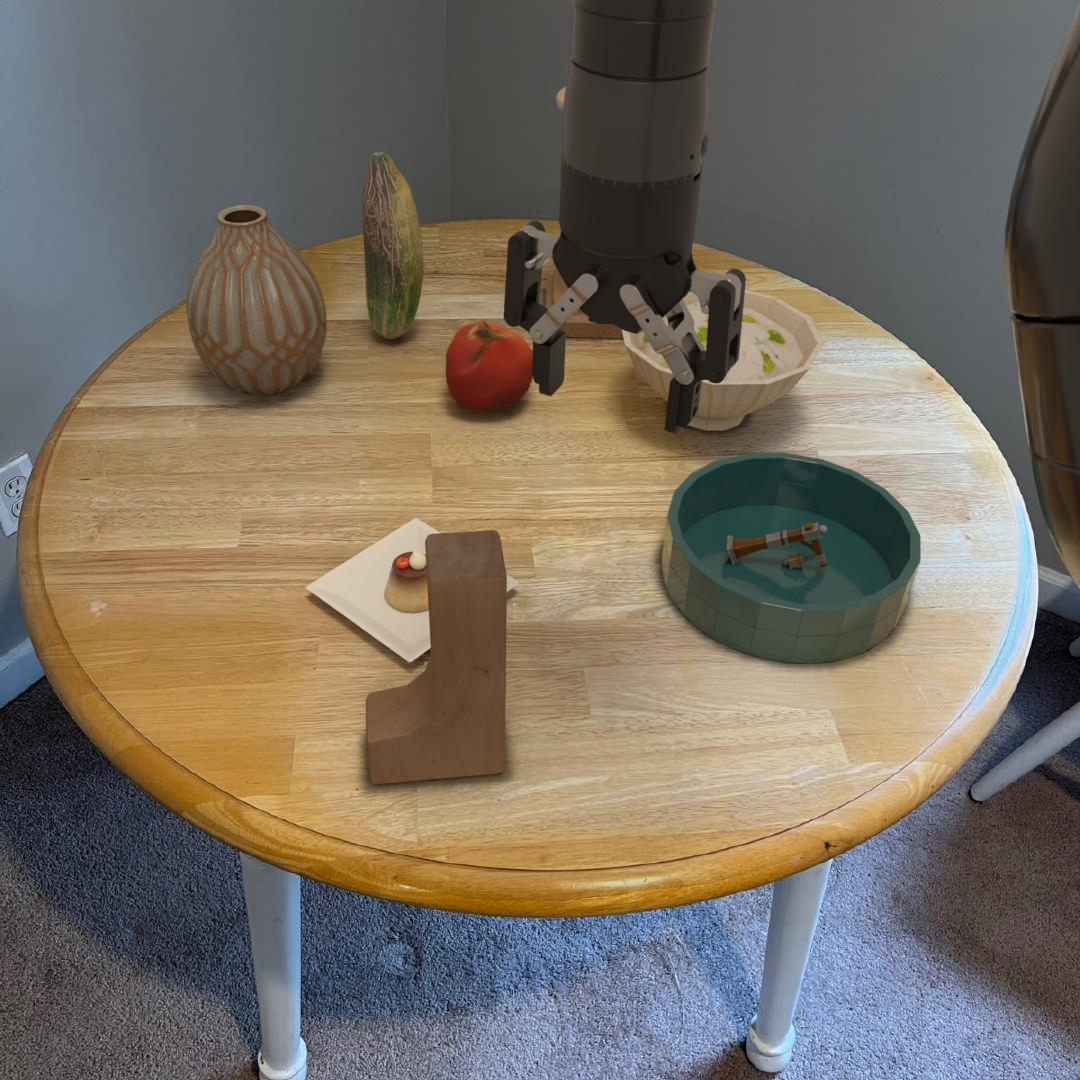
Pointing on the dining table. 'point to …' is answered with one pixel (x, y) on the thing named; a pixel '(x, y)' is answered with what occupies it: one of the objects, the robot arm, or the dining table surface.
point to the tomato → (488, 366)
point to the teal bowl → (763, 581)
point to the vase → (255, 306)
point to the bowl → (740, 360)
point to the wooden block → (450, 672)
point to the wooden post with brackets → (778, 540)
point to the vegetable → (390, 248)
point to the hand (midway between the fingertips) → (612, 408)
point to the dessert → (387, 590)
